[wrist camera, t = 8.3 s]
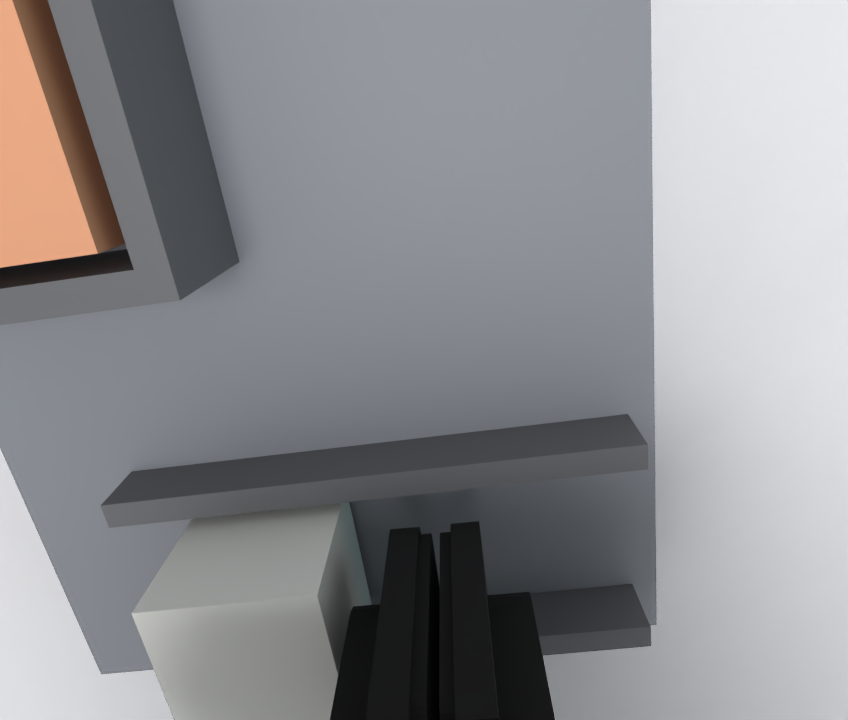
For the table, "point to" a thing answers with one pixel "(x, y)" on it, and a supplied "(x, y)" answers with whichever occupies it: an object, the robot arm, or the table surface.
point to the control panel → (352, 297)
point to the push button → (46, 148)
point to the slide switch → (254, 614)
